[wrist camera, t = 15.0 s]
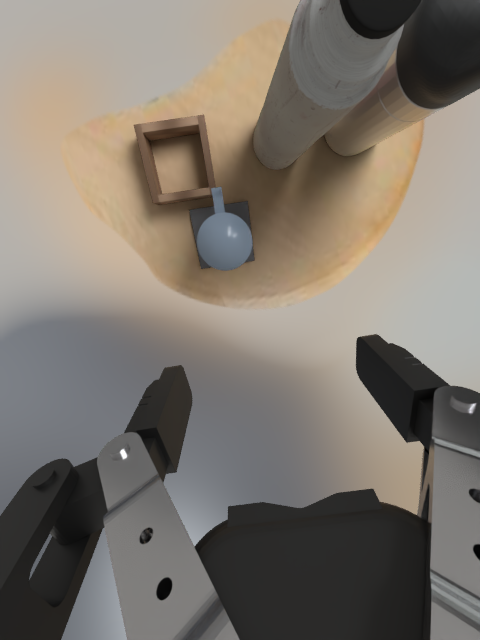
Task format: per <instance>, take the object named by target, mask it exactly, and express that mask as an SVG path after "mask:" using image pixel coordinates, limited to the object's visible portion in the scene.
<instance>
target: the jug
mask: <svg viewBox="0 0 480 640" xmlns="http://www.w3.org/2000/svg"><path fill="white" fill-rule="evenodd" d="M211 190H212V196H213V202H214V208H215V214H214V215H212V216H210V217H209V218H208V219H206V220H205V221H204V223H203V224H202V225H201V227H200V229H199V232H198V236H197V246H198V250H199V253H200V255H201V257H202V258H203V260H204V261H205V262H206V263H207V264H208V265H210V266H211V267H213V268H215V269H218V270H225V271H226V270H233V269H235V268H237V267H239V266H241V265H242V264H243V263H244V262H245V261H246V260H247V258H248V257H249V255H250V253H251V249H252V235H251V231H250V229H249V227H248V226H247V224H246V223H245V222H244V221H243V220H242V219H241V218H240V217H238V216H236V215H234V214H231V213H225V208H224V202H223V195H222V189H221V187H217V188H211Z"/></svg>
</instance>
